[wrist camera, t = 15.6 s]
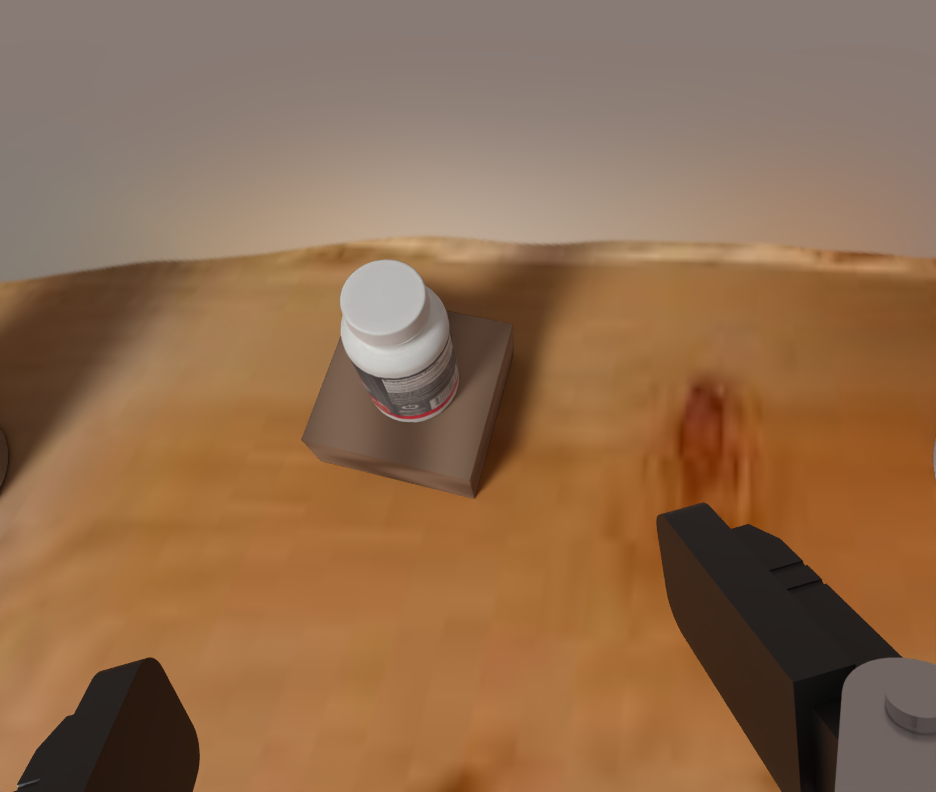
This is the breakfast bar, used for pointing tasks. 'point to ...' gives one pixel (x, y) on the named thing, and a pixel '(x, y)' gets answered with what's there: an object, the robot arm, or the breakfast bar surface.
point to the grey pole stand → (934, 458)
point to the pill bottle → (399, 340)
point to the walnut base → (426, 442)
